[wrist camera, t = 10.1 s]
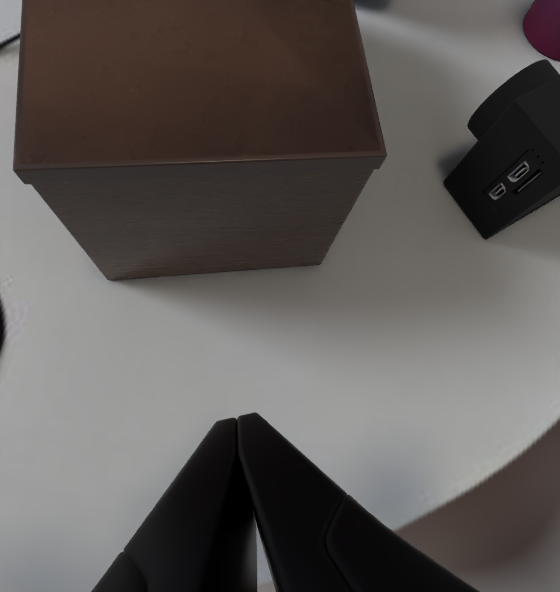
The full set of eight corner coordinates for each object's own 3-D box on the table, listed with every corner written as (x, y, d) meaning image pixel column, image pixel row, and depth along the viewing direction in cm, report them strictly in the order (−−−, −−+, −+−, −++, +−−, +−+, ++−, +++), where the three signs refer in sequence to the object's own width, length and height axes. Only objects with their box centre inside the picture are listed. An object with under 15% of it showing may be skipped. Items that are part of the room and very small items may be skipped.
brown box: (322, 266, 24) (387, 155, 14) (105, 282, 22) (11, 170, 12) (281, 5, 29) (308, -207, 19) (102, 3, 27) (34, -230, 17)
